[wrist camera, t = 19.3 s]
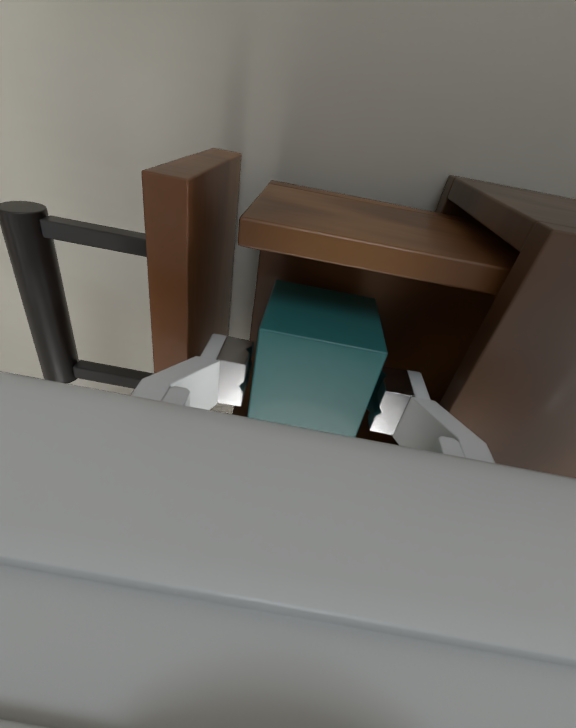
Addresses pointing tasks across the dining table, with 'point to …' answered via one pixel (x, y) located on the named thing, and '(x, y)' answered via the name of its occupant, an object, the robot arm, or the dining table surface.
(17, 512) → the robot arm
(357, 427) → the block
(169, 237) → the drawer
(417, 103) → the dining table surface
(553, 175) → the dining table surface
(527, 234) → the cabinet
